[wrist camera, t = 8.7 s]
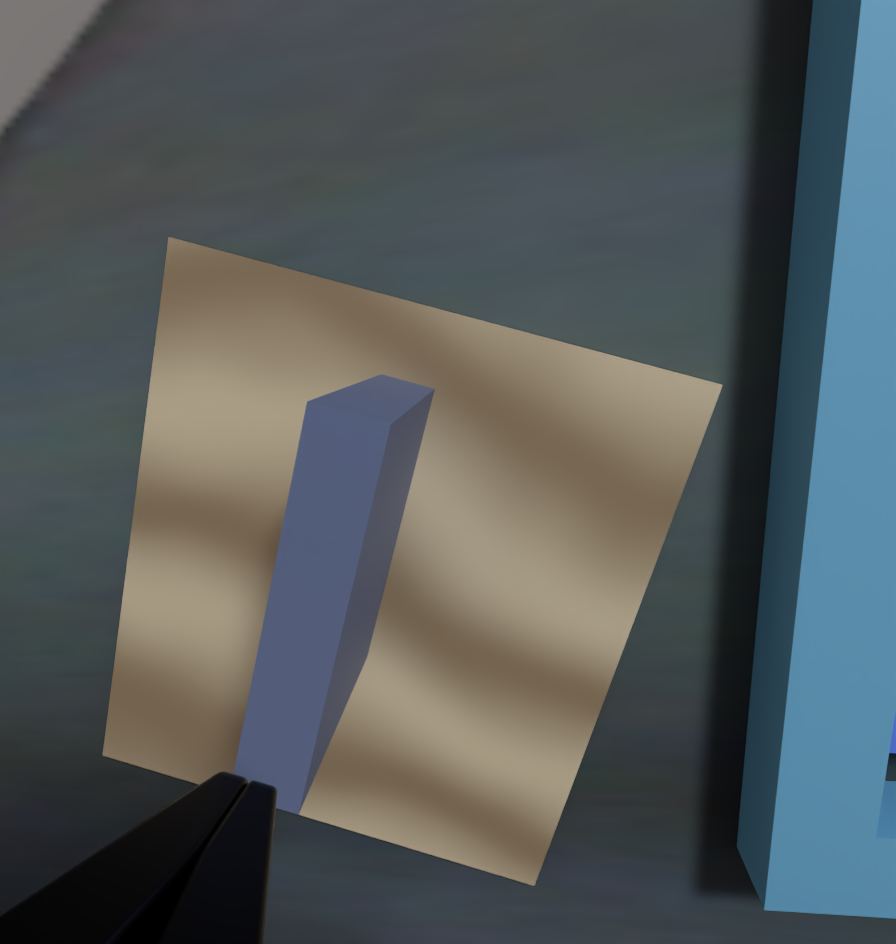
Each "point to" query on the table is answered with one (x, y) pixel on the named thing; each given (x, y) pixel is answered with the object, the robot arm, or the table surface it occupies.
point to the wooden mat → (398, 550)
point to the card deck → (329, 576)
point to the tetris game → (832, 503)
